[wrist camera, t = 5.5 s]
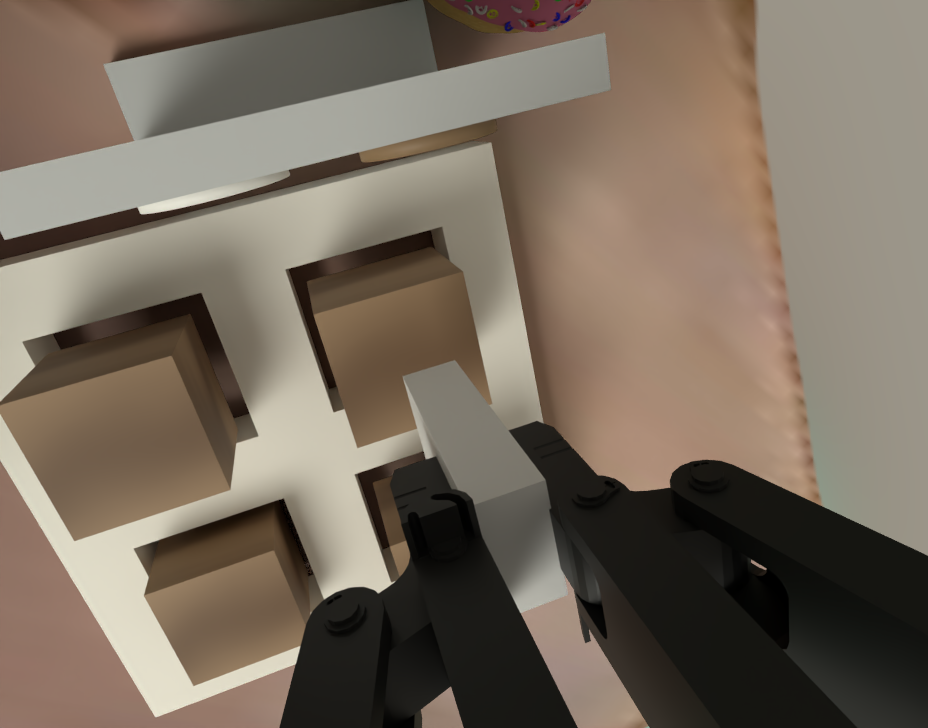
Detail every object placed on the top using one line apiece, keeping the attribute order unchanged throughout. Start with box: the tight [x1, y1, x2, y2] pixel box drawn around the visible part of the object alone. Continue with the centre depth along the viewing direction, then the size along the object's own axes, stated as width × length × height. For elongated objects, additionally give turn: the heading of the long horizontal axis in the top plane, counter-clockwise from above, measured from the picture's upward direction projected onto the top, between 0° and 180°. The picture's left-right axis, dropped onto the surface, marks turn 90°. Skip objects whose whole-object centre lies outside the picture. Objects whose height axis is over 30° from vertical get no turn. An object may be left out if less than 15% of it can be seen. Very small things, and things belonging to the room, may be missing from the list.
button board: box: [0, 141, 543, 717], centre depth 27 cm, size 20×20×2 cm
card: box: [0, 0, 611, 240], centre depth 17 cm, size 4×11×14 cm, turn 103°
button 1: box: [144, 500, 311, 686], centre depth 27 cm, size 5×5×4 cm
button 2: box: [0, 314, 238, 541], centre depth 21 cm, size 5×5×4 cm
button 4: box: [307, 247, 492, 448], centre depth 22 cm, size 5×5×4 cm
